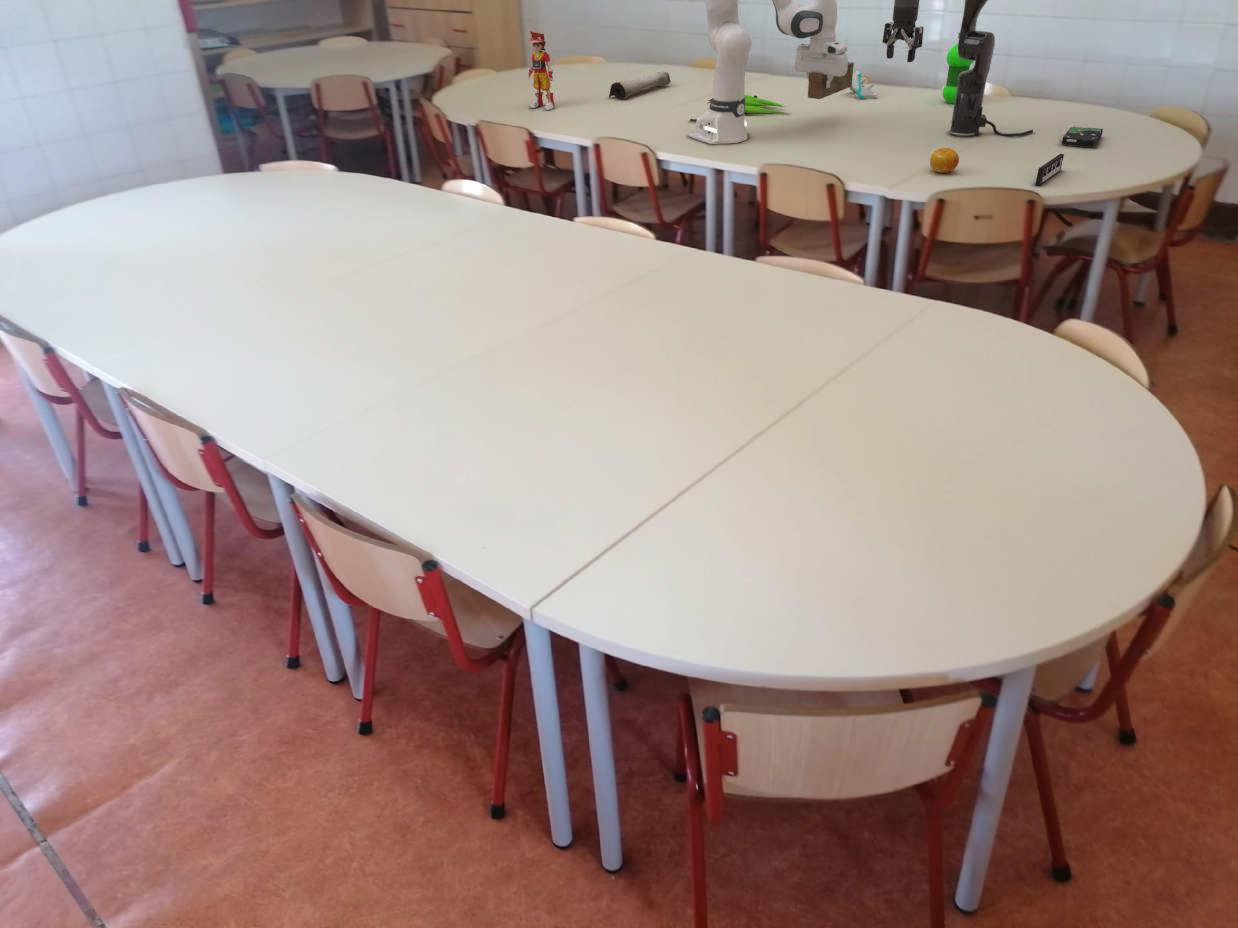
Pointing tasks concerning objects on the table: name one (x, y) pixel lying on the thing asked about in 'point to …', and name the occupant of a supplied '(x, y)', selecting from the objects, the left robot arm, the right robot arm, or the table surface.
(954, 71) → the green tall rounded piece
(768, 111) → the toy
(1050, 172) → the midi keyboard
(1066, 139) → the disk drive
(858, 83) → the anatomical model
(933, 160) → the fruit
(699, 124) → the left robot arm
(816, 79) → the bar
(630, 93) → the rolled mat
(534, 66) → the toy
